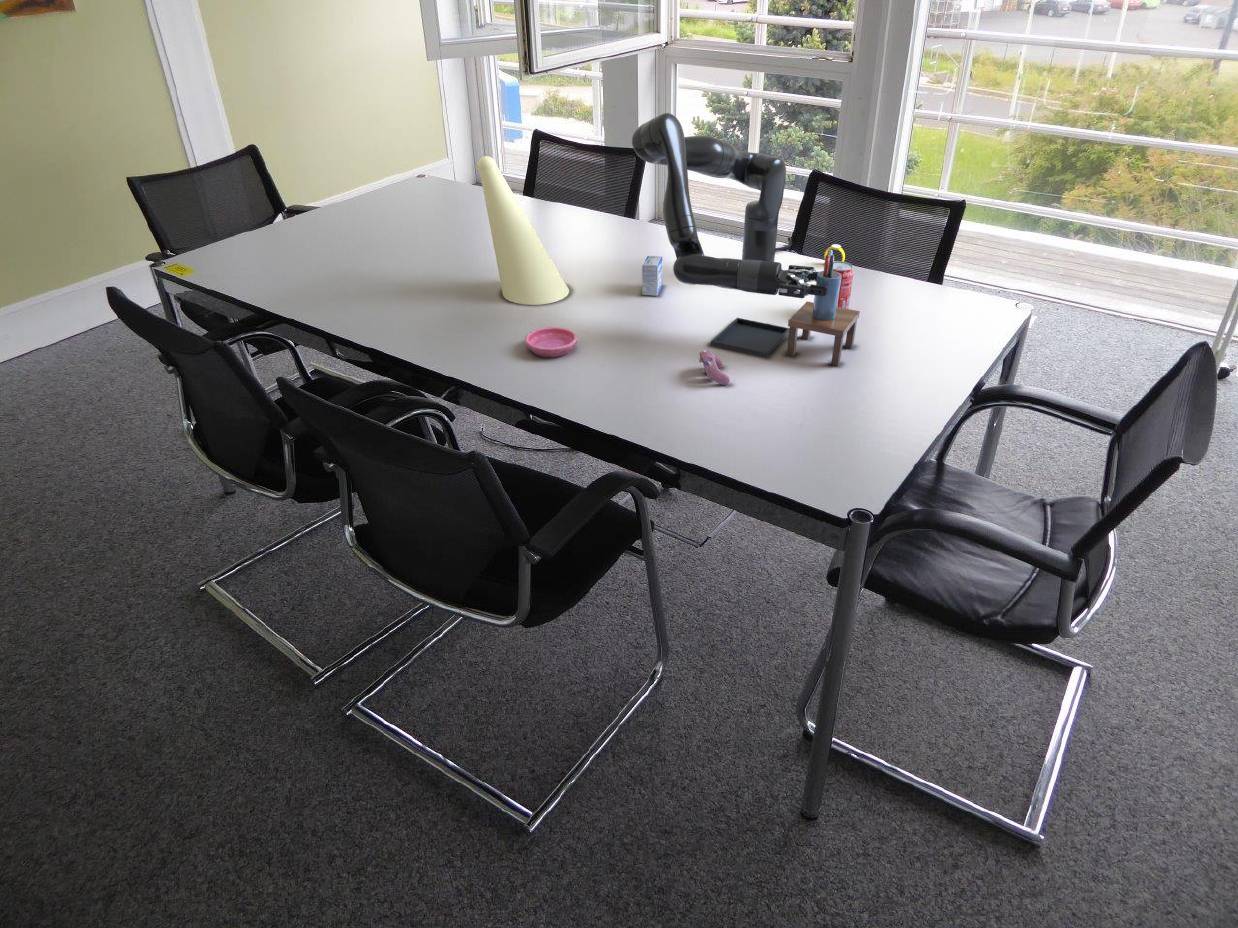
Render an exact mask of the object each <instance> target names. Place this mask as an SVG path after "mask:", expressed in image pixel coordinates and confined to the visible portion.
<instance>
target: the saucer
mask: <svg viewBox="0 0 1238 928" xmlns="http://www.w3.org/2000/svg"><path fill="white" fill-rule="evenodd" d="M524 342H525V345H526V346H527V348H528V349H529V350H530V351H531V352H532V353H534V354H535V355H536V356H539V357H542V358H557V357H562V356H565V355H568V354H569V353H570V352H571V350H572V349H574V348H575V346H576V345H577V343H578V335H577V334H576V333H575V331H573V330H571V329H569V328H566V327H559V326H548V327H541V328H537V329H534V330H532V331H530V332H529V333H527V334H526V336H525V338H524Z"/></svg>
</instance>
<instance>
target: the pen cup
mask: <svg viewBox="0 0 1238 928" xmlns="http://www.w3.org/2000/svg"><path fill="white" fill-rule="evenodd" d="M833 252H834V251H833V249H829V250H828V253H827V255H826V257H825V259H824V265H823V266H824V267H823V270H820V271H817V272H818V273H817V280H816V282H815V285H822V286H826V287H827V293H826V295H825V296H817V295H813V296H814V298H813V303H814V305H813V313H812V316H813V317H814V318H816V319H819V320H832V319H835V318H836V313H837V305H838V298H839V291H840V283H841V274H840V273H838V272H835V271H833V264H834V261H835V255H834V253H833Z"/></svg>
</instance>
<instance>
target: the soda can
mask: <svg viewBox="0 0 1238 928" xmlns="http://www.w3.org/2000/svg"><path fill="white" fill-rule="evenodd" d="M853 268H854V266H853V264H852V263H850V262H848V261H847V262H846V261H844V262H842V260H836V261H835V260H834V264H833V271H835V272H838V273H840V274H841V283H840V291H839V298H838V305H837V307H840V308H845V309H850V302H851V294H852V287H853V281H854V270H853Z"/></svg>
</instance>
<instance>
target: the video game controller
mask: <svg viewBox="0 0 1238 928" xmlns="http://www.w3.org/2000/svg"><path fill="white" fill-rule="evenodd" d="M698 354H699V358H698V362H699V364H702V366H703V368H704V372H705V374H706V377H707V378H708V379H710V381H714V382H716V383H717V384H719V385H721V386H722V385H723V386H726V385H728V384H729V383H730V381H731V380H730V377H729V376H728V375H727V374H726V373H725V372H723V371H721V368H722V367H723V365H724V363H723V361H722V359H720V358H719V357H718V356H716V355H715V354H714V353H713V352H712V351H711V350H709V348H707V349H703V350H702V351H699V352H698Z"/></svg>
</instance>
